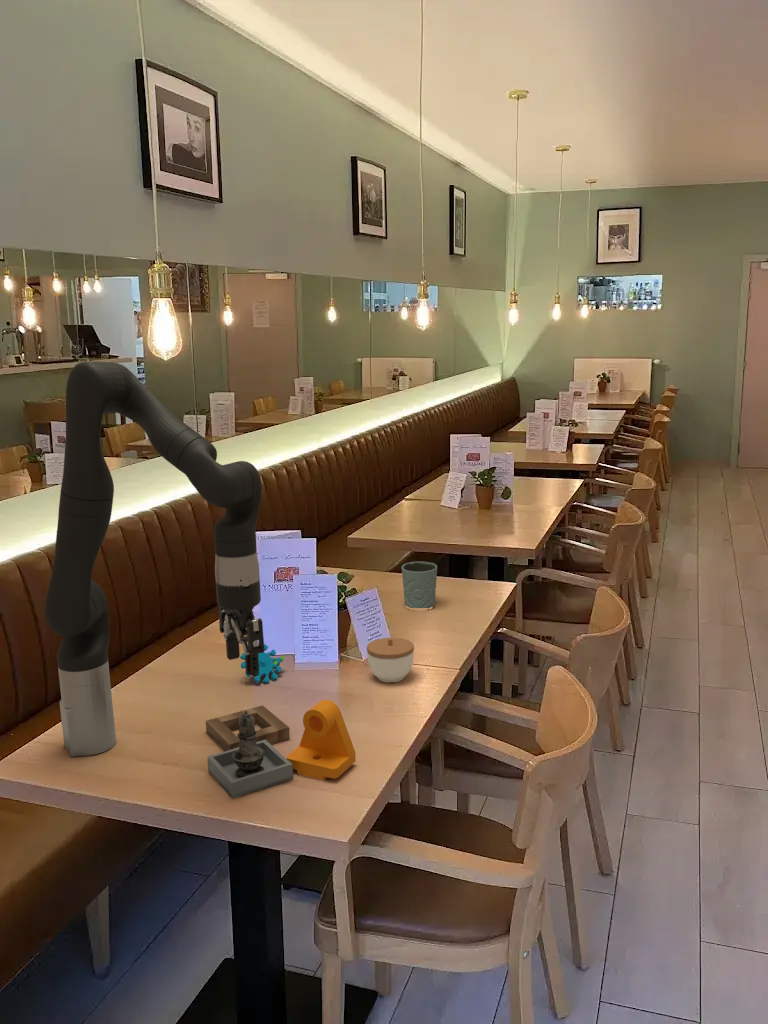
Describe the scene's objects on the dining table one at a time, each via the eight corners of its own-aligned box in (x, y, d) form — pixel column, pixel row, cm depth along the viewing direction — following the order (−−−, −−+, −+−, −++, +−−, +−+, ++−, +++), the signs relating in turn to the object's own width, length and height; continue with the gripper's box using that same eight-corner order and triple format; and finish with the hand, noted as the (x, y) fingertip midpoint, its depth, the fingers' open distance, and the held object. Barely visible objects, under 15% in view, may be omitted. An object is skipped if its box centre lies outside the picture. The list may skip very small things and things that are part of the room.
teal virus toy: (248, 683, 199) (237, 643, 204) (239, 695, 203) (228, 656, 208) (292, 677, 205) (279, 639, 210) (282, 689, 209) (270, 651, 214)
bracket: (285, 771, 163) (281, 710, 160) (306, 753, 169) (303, 695, 167) (336, 783, 158) (333, 721, 156) (355, 765, 164) (353, 704, 162)
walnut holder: (230, 756, 169) (229, 744, 168) (206, 732, 179) (205, 720, 179) (289, 739, 175) (289, 727, 175) (263, 716, 186) (262, 705, 185)
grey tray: (232, 798, 154) (231, 783, 153) (208, 771, 164) (207, 756, 163) (293, 779, 160) (292, 764, 159) (266, 754, 169) (265, 739, 169)
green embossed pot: (421, 599, 260) (420, 559, 257) (445, 606, 252) (444, 566, 250) (395, 606, 254) (394, 566, 251) (418, 615, 246) (417, 573, 243)
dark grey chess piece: (271, 766, 164) (267, 705, 161) (258, 781, 158) (254, 718, 156) (241, 762, 165) (237, 702, 163) (227, 778, 160) (223, 715, 157)
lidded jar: (361, 684, 201) (359, 644, 199) (376, 666, 211) (375, 628, 209) (406, 689, 197) (405, 649, 195) (420, 671, 207) (419, 632, 205)
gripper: (202, 572, 158) (208, 658, 161) (233, 591, 146) (238, 684, 149) (241, 565, 161) (246, 649, 165) (275, 583, 150) (279, 674, 153)
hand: (242, 666), depth 157 cm, fingers open, 8 cm apart
